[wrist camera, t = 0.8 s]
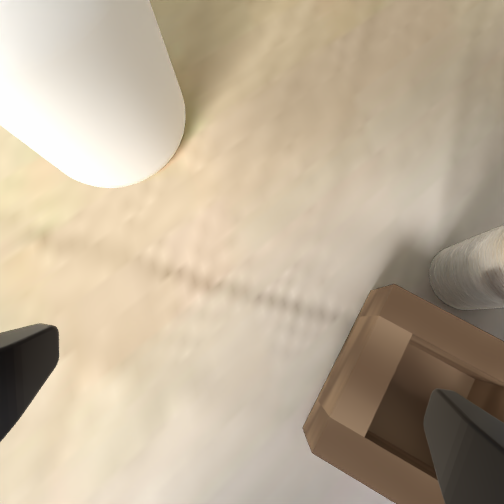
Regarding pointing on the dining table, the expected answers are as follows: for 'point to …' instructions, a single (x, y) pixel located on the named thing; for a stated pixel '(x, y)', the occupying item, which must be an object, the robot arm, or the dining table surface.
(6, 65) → the wine bottle
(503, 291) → the cylinder
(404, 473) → the walnut block
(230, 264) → the dining table surface
